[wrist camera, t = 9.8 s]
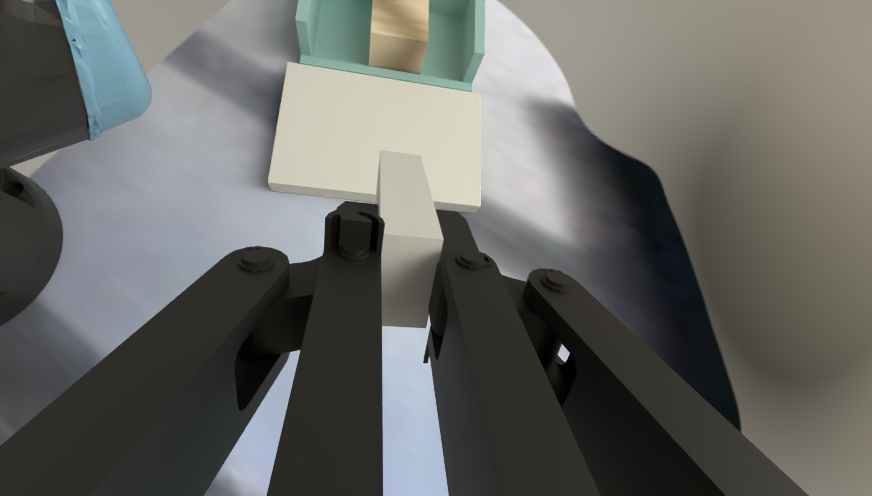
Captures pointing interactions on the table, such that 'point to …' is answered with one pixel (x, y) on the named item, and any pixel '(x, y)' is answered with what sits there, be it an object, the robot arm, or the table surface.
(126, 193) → the table surface
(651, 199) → the table surface
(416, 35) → the maple block
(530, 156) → the table surface
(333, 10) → the box
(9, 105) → the robot arm
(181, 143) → the table surface
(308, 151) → the cream board
